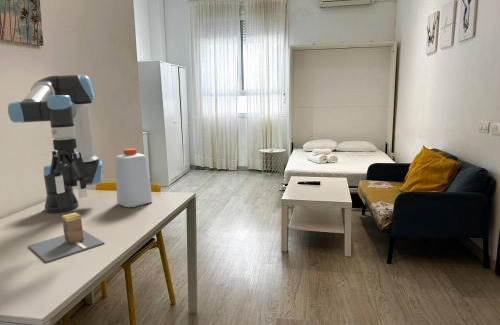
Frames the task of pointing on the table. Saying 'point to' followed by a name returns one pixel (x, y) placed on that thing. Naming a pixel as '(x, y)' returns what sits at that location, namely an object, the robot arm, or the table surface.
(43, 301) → the table surface
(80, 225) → the block
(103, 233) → the table surface
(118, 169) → the plastic bottle
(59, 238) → the mat
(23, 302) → the table surface
